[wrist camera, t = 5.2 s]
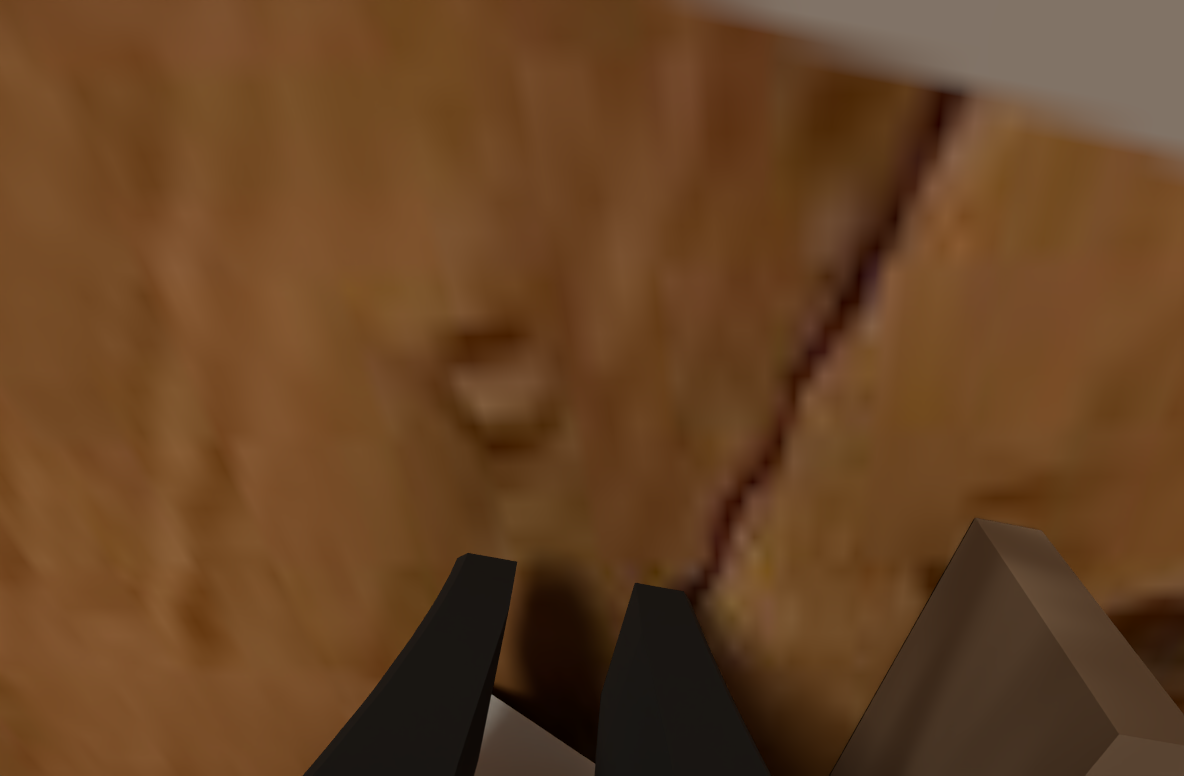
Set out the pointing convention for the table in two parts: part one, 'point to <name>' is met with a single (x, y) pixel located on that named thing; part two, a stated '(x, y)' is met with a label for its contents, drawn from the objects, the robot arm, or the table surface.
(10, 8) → the table surface
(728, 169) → the table surface
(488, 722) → the die
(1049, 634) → the wooden l-shaped bracket
